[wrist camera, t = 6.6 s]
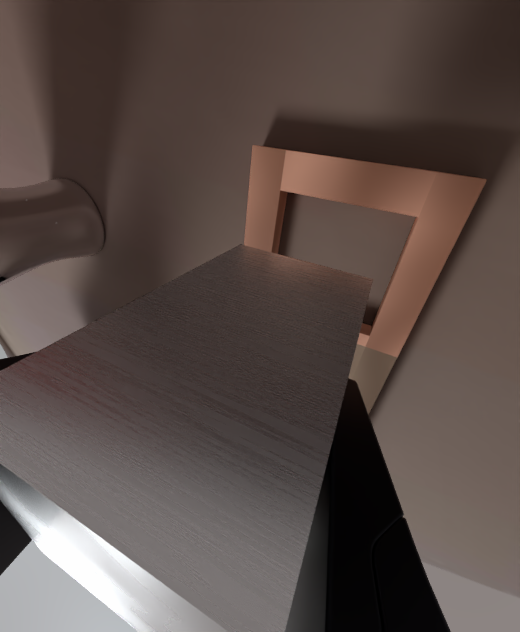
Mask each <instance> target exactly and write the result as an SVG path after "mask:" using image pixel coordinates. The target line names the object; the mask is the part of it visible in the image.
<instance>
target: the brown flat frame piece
mask: <svg viewBox="0 0 520 632" xmlns="http://www.w3.org/2000/svg"><path fill="white" fill-rule="evenodd" d="M486 181H487V179H483V178H478V177H471V176H464V175H458V174H451V173H444V172H437V171H430V170H423V169H417V168H410V167H403V166H396V165H389V164H382V163H375V162H369V161H362V160H355V159H348V158H341V157H334V156H328V155H321V154H314V153H307V152H300V151H293V150H287V149H280V148H273V147H266V146H256V145H253V146H252V158H251V169H250V181H249V193H248V205H247V216H246V228H245V240H244V245H245V246H249V247H253V248H257V249H261V250H264V251H268V252H272V253H276V254H278V250H279V244H280V238H281V231H282V225H283V218H284V212H285V205H286V199H287V193H288V192H291V193H296V194H302V195H307V196H312V197H317V198H322V199H327V200H333V201H338V202H343V203H348V204H353V205H358V206H363V207H369V208H374V209H379V210H384V211H389V212H394V213H400V214H405V215H410V216H415V217H416V218H415V221H414V223H413V226H412V228H411V230H410V233H409V235H408V238H407V240H406V243H405V245H404V248H403V250H402V253H401V255H400V258H399V260H398V262H397V265H396V267H395V270H394V272H393V275H392V277H391V280H390V282H389V285H388V287H387V290H386V292H385V294H384V297H383V299H382V302H381V304H380V307H379V309H378V312H377V314H376V317H375V319H374V322H373V324H372V326H370V325H367V324H364V323H362V325H361V329H360V333H359V337H358V341H357V345H356V349H355V353H354V357H353V361H352V365H351V369H350V373H349V377H348V378H349V379H352V380H355V381H356V382H357V384H358V387H359V390H360V392H361V395H362V398H363V401H364V404H365V406H366V409H367V412H368V415H369V413H370V411H371V409H372V407H373V405H374V403H375V401H376V399H377V397H378V395H379V393H380V391H381V389H382V387H383V385H384V383H385V381H386V379H387V377H388V375H389V373H390V371H391V369H392V367H393V365H394V363H395V361H396V359H397V357H398V355H399V353H400V351H401V349H402V347H403V345H404V343H405V341H406V339H407V337H408V335H409V333H410V331H411V329H412V327H413V325H414V323H415V322H416V320H417V318H418V316H419V314H420V312H421V310H422V308H423V306H424V304H425V302H426V300H427V298H428V296H429V294H430V292H431V290H432V288H433V286H434V284H435V282H436V280H437V278H438V276H439V274H440V272H441V270H442V268H443V266H444V264H445V262H446V260H447V258H448V256H449V254H450V252H451V250H452V248H453V246H454V244H455V242H456V240H457V238H458V236H459V234H460V232H461V230H462V228H463V226H464V224H465V223H466V221H467V219H468V217H469V215H470V213H471V211H472V209H473V207H474V205H475V203H476V201H477V199H478V197H479V195H480V193H481V191H482V189H483V187H484V185H485V183H486Z"/></svg>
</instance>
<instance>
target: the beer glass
mask: <svg viewBox="0 0 520 632" xmlns="http://www.w3.org/2000/svg"><path fill="white" fill-rule="evenodd" d="M103 243H104V227H103V222H102V219H101V216H100V213H99V211H98V209H97V207H96V205H95V203H94V202H93V200H92V199H91V197H90V196H89V195H88V194H87V192H86V191H85V190H84V189H83V188H82V187H80V186H79V185H78V184H77V183H75V182H73V181H71V180H69V179H64V178H57V179H52V180H49V181H45V182H41V183H38V184H34V185H30V186H25V187H17V188H0V286H1V285H3V284H5V283H7V282H9V281H11V280H13V279H15V278H17V277H19V276H21V275H23V274H25V273H27V272H29V271H31V270H33V269H36V268H38V267H40V266H43V265H45V264H48V263H51V262H55V261H59V260H63V259H70V258H80V257H88V256H92V255H95V254H97V253H98V252H99V251H100V250H101V249H102V247H103Z"/></svg>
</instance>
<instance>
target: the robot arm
mask: <svg viewBox="0 0 520 632" xmlns="http://www.w3.org/2000/svg"><path fill="white" fill-rule="evenodd" d="M34 353H35V352H33V353H29V354H24V355H20V356H15V357H10V358H4V359H0V371H1V370H3V369H5V368H7V367H9V366H11V365H13V364H15V363H16V362H18V361H20V360H22V359H24V358H26V357H28V356H30V355H32V354H34ZM403 515H404V513H403V510H402V508H401V505H400V502H399V499H398V496H397V494H396V491H395V488H394V485H393V482H392V479H391V477H390V474H389V471H388V468H387V465H386V463H385V460H384V457H383V454H382V451H381V449H380V446H379V443H378V440H377V437H376V435H375V432H374V429H373V426H372V423H371V421H370V418H369V415H368V412H367V409H366V406H365V404H364V401H363V398H362V395H361V392H360V390H359V387H358V384H357V382H356V381H355V380H352V379H349V378H348V381H347V385H346V389H345V393H344V397H343V401H342V405H341V409H340V413H339V417H338V421H337V425H336V429H335V433H334V437H333V441H332V445H331V449H330V453H329V457H328V461H327V465H326V469H325V473H324V477H323V481H322V485H321V489H320V493H319V497H318V501H317V505H316V509H315V513H314V517H313V521H312V525H311V529H310V533H309V537H308V541H307V545H306V549H305V553H304V557H303V561H302V565H301V569H300V573H299V577H298V581H297V585H296V589H295V593H294V597H293V601H292V605H291V609H290V613H289V617H288V621H287V625H286V629H285V632H450V629H449V627H448V624H447V622H446V620H445V618H444V615H443V613H442V611H441V608H440V606H439V604H438V601H437V599H436V597H435V594H434V592H433V590H432V587H431V585H430V583H429V580H428V578H427V575H426V573H425V570H424V567H423V565H422V562H421V559H420V557H419V554H418V552H417V549H416V546H415V544H414V541H413V538H412V535H411V532H410V530H409V527H408V524H407V521H406V519H405V518H403ZM31 540H32V539H31V538H30V536H29V535H28V534H27V533H26V531H25V530H24V529H23V528H22V526H21V525H20V524H19V523H18V521H17V520H16V519H15V518H14V516H13V515H12V514H11V513H10V512H9V510H8V509H7V508H6V507H5V505H4V504H3V503H2V502H1V500H0V575H1V574H2V573H3V572H4V571H5V570H6V568H7V567H8V566H9V565H10V564H11V563H12V562H13V561H14V559H15V558H16V557H17V556H18V555H19V554H20V553H21V552H22V550H23V549H24V548H25V547H26V546H27V545H28V544H29V543H30V542H31Z"/></svg>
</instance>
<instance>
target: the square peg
mask: <svg viewBox="0 0 520 632" xmlns="http://www.w3.org/2000/svg"><path fill="white" fill-rule="evenodd" d="M372 281H373V279H370V278H366V277H362V276H359V275H355V274H351V273H347V272H344V271H340V270H336V269H332V268H328V267H325V266H321V265H317V264H313V263H310V262H306V261H302V260H298V259H294V258H291V257H287V256H283V255H279V254H276V253H272V252H268V251H264V250H261V249H257V248H253V247H249V246H245V245H242V244H240V245H238V246H236V247H234V248H232V249H231V250H229V251H227V252H225V253H223V254H221V255H219V256H217V257H215V258H213V259H212V260H210V261H208V262H206V263H204V264H202V265H200V266H198V267H196V268H195V269H193V270H191V271H189V272H187V273H185V274H183V275H181V276H179V277H178V278H176V279H174V280H172V281H170V282H168V283H166V284H164V285H162V286H160V287H159V288H157V289H155V290H153V291H151V292H149V293H147V294H145V295H143V296H142V297H140V298H138V299H136V300H134V301H132V302H130V303H128V304H126V305H124V306H123V307H121V308H119V309H117V310H115V311H113V312H111V313H109V314H107V315H106V316H104V317H102V318H100V319H98V320H96V321H94V322H92V323H90V324H88V325H87V326H85V327H83V328H81V329H79V330H77V331H75V332H73V333H71V334H70V335H68V336H66V337H64V338H62V339H60V340H58V341H56V342H54V343H52V344H51V345H49V346H47V347H45V348H43V349H41V350H39V351H37V352H35V353H34V354H32V355H30V356H28V357H26V358H24V359H22V360H20V361H18V362H16V363H15V364H13V365H11V366H9V367H7V368H5V369H3V370H1V371H0V500H1V502H2V503H3V504H4V505H5V507H6V508H7V509H8V510H9V512H10V513H11V514H12V515H13V516H14V518H15V519H16V520H17V521H18V523H19V524H20V525H21V526H22V528H23V529H24V530H25V531H26V533H27V534H28V535H29V536H30V538H31V539H32V540H33V541H34V542H35V544H36V545H37V546H38V547H39V548H40V550H41V551H42V552H43V553H44V554H45V555H46V556H47V557H49V558H50V559H51V560H52V561H53V562H55V563H56V564H57V565H58V566H59V567H61V568H62V569H63V570H64V571H66V572H67V573H68V574H69V575H70V576H72V577H73V578H74V579H75V580H76V581H77V582H79V583H80V584H81V585H82V586H84V587H85V588H86V589H87V590H88V591H90V592H91V593H92V594H93V595H95V596H96V597H97V598H98V599H99V600H100V601H102V602H103V603H104V604H106V606H108V607H109V608H110V609H111V610H113V611H114V612H115V613H116V614H118V615H119V616H120V617H121V618H122V619H124V620H125V621H126V622H127V623H128V624H129V625H131V626H132V627H133V628H134V629H135V630H137V631H138V632H285V629H286V625H287V621H288V617H289V613H290V609H291V605H292V601H293V597H294V593H295V589H296V585H297V581H298V577H299V573H300V569H301V565H302V561H303V557H304V553H305V549H306V545H307V541H308V537H309V533H310V529H311V525H312V521H313V517H314V513H315V509H316V505H317V501H318V497H319V493H320V489H321V485H322V481H323V477H324V473H325V469H326V465H327V461H328V457H329V453H330V449H331V445H332V441H333V437H334V433H335V429H336V425H337V421H338V417H339V413H340V409H341V405H342V401H343V397H344V393H345V389H346V385H347V381H348V377H349V373H350V369H351V365H352V361H353V357H354V353H355V349H356V345H357V341H358V337H359V333H360V329H361V325H362V321H363V317H364V313H365V309H366V305H367V301H368V297H369V293H370V289H371V285H372Z"/></svg>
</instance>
